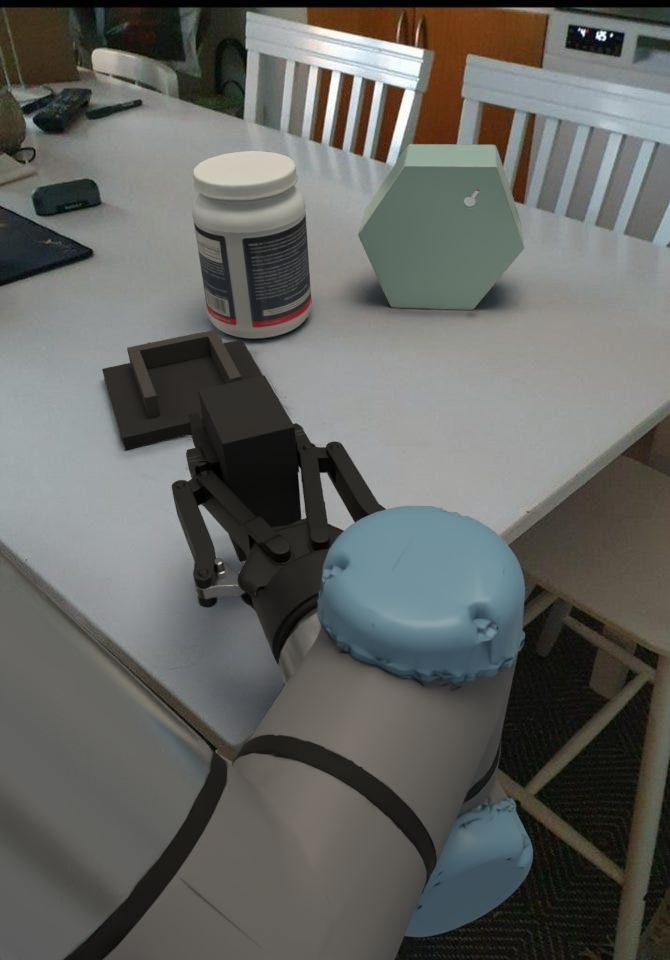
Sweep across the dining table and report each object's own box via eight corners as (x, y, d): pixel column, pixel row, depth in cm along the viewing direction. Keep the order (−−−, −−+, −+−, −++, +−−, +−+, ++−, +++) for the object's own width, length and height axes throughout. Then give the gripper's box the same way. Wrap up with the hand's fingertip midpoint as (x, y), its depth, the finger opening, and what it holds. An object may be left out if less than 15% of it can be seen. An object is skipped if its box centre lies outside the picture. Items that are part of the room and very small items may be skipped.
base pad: (125, 450, 80) (117, 417, 77) (104, 380, 90) (96, 348, 88) (279, 413, 84) (276, 380, 81) (243, 350, 94) (239, 319, 92)
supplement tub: (318, 295, 104) (311, 147, 93) (304, 345, 94) (294, 188, 83) (221, 293, 106) (201, 147, 94) (197, 342, 96) (171, 187, 84)
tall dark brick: (239, 562, 60) (222, 443, 53) (216, 504, 65) (197, 389, 58) (303, 544, 61) (295, 426, 54) (275, 489, 66) (264, 374, 59)
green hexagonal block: (447, 313, 109) (551, 185, 97) (446, 342, 103) (557, 209, 91) (341, 245, 105) (436, 102, 92) (333, 270, 99) (434, 121, 86)
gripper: (191, 729, 46) (124, 485, 63) (475, 635, 50) (341, 431, 67) (170, 644, 41) (104, 405, 58) (486, 549, 46) (339, 353, 63)
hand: (232, 419), depth 63 cm, fingers closed on tall dark brick, 5 cm apart
